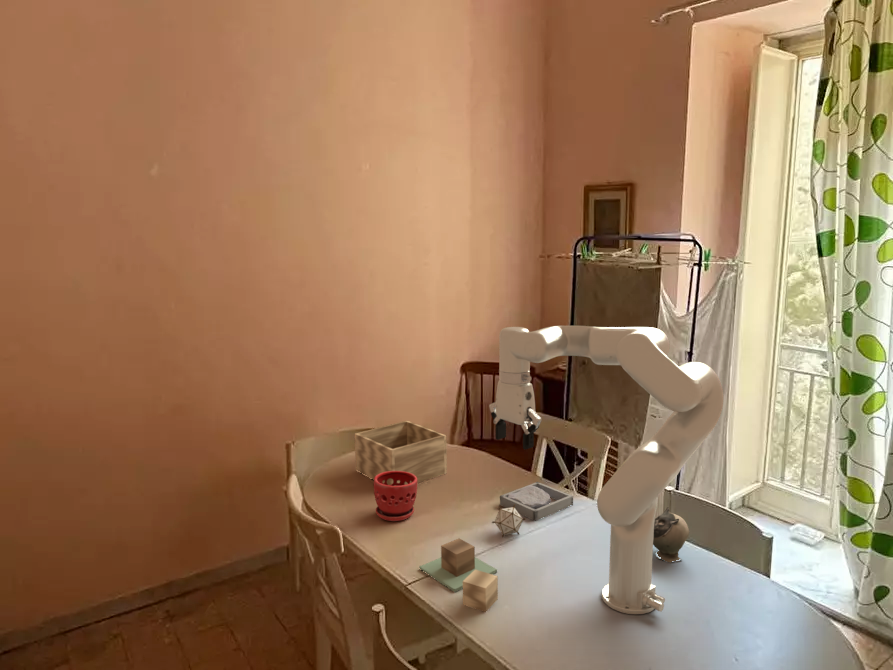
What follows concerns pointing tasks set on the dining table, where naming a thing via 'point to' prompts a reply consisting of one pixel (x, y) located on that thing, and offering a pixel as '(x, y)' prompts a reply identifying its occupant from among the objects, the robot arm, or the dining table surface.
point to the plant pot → (395, 495)
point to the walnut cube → (457, 557)
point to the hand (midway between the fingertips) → (514, 443)
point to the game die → (508, 520)
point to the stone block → (531, 497)
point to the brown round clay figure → (669, 535)
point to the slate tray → (536, 514)
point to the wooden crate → (401, 451)
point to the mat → (448, 578)
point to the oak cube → (480, 590)
